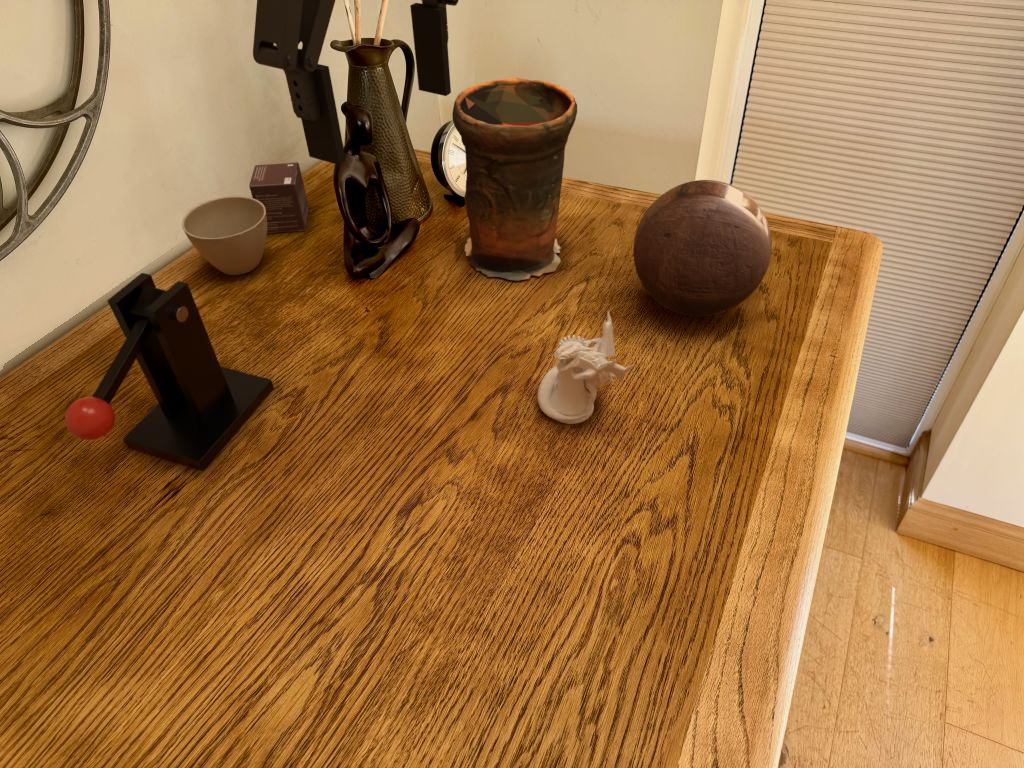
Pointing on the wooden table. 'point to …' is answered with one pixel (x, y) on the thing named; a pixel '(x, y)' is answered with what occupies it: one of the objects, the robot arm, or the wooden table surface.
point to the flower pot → (228, 232)
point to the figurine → (579, 376)
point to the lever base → (185, 380)
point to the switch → (112, 376)
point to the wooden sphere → (702, 248)
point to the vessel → (514, 173)
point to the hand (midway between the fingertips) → (385, 123)
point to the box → (281, 196)
